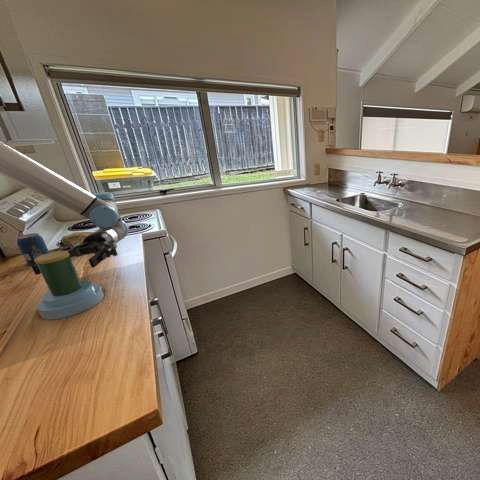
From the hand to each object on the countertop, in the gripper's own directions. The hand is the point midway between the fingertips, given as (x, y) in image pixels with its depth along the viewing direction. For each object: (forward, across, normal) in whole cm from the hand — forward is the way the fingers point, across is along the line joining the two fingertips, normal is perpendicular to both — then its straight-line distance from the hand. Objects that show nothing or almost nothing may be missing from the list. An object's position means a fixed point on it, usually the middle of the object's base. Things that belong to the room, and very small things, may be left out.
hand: (63, 266), depth 74 cm
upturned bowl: (+2, 0, -11) cm, 12 cm away
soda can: (-37, +31, -12) cm, 49 cm away
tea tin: (+2, 0, -6) cm, 7 cm away
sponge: (-52, +24, -12) cm, 58 cm away
